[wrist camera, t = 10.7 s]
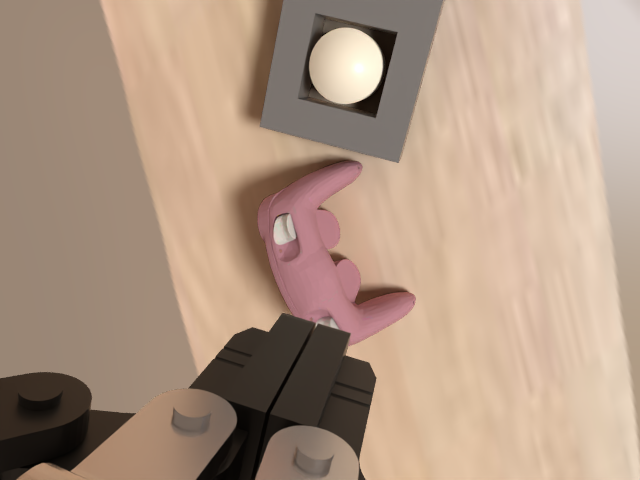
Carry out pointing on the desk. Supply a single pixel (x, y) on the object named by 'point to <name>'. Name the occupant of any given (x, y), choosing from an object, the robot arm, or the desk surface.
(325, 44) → the cream button
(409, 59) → the button panel
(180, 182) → the desk surface
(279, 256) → the video game controller
